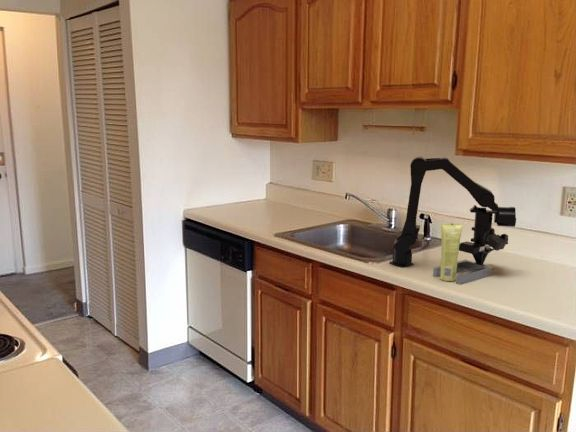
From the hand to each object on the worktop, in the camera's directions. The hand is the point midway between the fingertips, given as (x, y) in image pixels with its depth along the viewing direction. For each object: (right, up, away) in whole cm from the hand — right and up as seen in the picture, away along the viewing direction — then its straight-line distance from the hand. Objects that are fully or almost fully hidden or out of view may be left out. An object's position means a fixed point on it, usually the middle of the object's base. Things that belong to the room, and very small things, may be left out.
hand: (479, 267), depth 189 cm
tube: (-14, -3, -10) cm, 18 cm away
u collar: (-8, -2, -6) cm, 10 cm away
